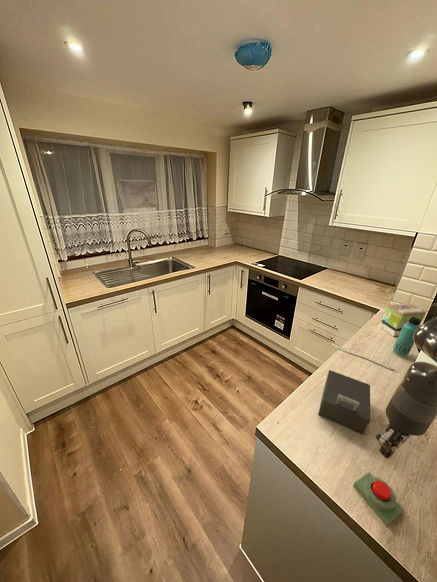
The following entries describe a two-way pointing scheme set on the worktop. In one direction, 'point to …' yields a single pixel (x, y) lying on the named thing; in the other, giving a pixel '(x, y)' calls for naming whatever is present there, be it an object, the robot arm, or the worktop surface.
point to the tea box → (399, 317)
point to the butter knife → (363, 356)
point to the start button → (381, 490)
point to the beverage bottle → (406, 337)
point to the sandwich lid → (347, 396)
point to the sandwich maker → (341, 417)
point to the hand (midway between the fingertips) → (384, 454)
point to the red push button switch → (382, 508)
